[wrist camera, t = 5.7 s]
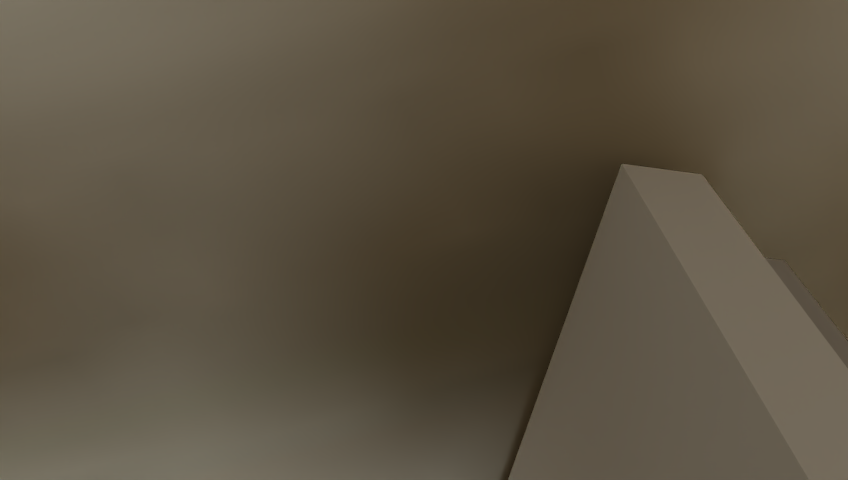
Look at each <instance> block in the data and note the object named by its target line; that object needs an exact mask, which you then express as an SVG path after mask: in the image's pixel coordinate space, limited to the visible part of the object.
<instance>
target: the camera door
mask: <svg viewBox="0 0 848 480" xmlns="http://www.w3.org/2000/svg"><path fill="white" fill-rule="evenodd" d="M508 480H848V341H847V340H846V338H845V337H844V336H843V334H842V333H841V332H840V331H839V329H838V328H837V327H836V325H835V324H834V323H833V322H832V320H831V319H830V318H829V317H828V315H827V314H826V313H825V311H824V310H823V309H822V308H821V306H820V305H819V304H818V302H817V301H816V300H815V299H814V297H813V296H812V295H811V294H810V292H809V291H808V290H807V288H806V287H805V286H804V285H803V283H802V282H801V281H800V279H799V278H798V277H797V276H796V274H795V273H794V272H793V270H792V269H791V268H790V267H789V265H788V264H787V263H786V262H785V260H780V259H771V258H765V257H764V256H763V255H762V253H761V252H760V251H759V249H758V248H757V247H756V245H755V244H754V243H753V241H752V240H751V239H750V237H749V236H748V235H747V233H746V232H745V231H744V229H743V228H742V227H741V225H740V224H739V223H738V221H737V220H736V219H735V217H734V216H733V215H732V213H731V212H730V211H729V209H728V208H727V207H726V205H725V204H724V203H723V201H722V200H721V199H720V197H719V196H718V195H717V193H716V192H715V191H714V189H713V188H712V187H711V185H710V184H709V183H708V181H707V180H706V179H705V177H704V176H703V175H702V174H696V173H688V172H681V171H673V170H666V169H658V168H651V167H643V166H636V165H628V164H621V167H620V169H619V172H618V175H617V178H616V181H615V183H614V186H613V189H612V192H611V194H610V197H609V200H608V203H607V206H606V208H605V211H604V214H603V217H602V220H601V222H600V225H599V228H598V231H597V233H596V236H595V239H594V242H593V245H592V247H591V250H590V253H589V256H588V259H587V261H586V264H585V267H584V270H583V272H582V275H581V278H580V281H579V284H578V286H577V289H576V292H575V295H574V297H573V300H572V303H571V306H570V309H569V311H568V314H567V317H566V320H565V323H564V325H563V328H562V331H561V334H560V336H559V339H558V342H557V345H556V348H555V350H554V353H553V356H552V359H551V362H550V364H549V367H548V370H547V373H546V375H545V378H544V381H543V384H542V387H541V389H540V392H539V395H538V398H537V400H536V403H535V406H534V409H533V412H532V414H531V417H530V420H529V423H528V426H527V428H526V431H525V434H524V437H523V439H522V442H521V445H520V448H519V451H518V453H517V456H516V459H515V462H514V465H513V467H512V470H511V473H510V476H509V478H508Z"/></svg>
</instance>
